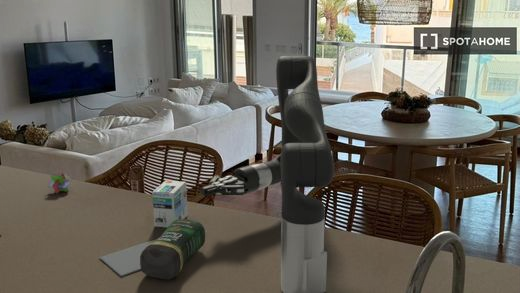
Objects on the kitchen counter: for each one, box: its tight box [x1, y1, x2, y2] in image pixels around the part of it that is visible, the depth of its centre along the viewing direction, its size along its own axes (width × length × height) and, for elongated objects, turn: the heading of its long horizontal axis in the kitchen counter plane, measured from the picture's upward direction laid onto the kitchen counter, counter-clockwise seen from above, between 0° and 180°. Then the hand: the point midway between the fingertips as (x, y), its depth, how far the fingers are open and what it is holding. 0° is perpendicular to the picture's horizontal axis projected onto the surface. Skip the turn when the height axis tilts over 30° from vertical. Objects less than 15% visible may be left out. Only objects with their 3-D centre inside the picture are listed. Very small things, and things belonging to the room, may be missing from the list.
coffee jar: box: [140, 218, 206, 280], centre depth 123 cm, size 10×8×19 cm
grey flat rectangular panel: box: [99, 237, 160, 278], centre depth 128 cm, size 12×18×1 cm, turn 131°
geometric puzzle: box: [47, 172, 72, 196], centre depth 172 cm, size 7×7×8 cm
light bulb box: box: [151, 179, 189, 228], centre depth 148 cm, size 11×7×11 cm, turn 168°
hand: (202, 192), depth 135 cm, fingers closed
